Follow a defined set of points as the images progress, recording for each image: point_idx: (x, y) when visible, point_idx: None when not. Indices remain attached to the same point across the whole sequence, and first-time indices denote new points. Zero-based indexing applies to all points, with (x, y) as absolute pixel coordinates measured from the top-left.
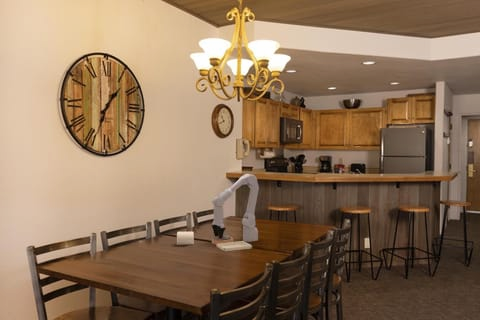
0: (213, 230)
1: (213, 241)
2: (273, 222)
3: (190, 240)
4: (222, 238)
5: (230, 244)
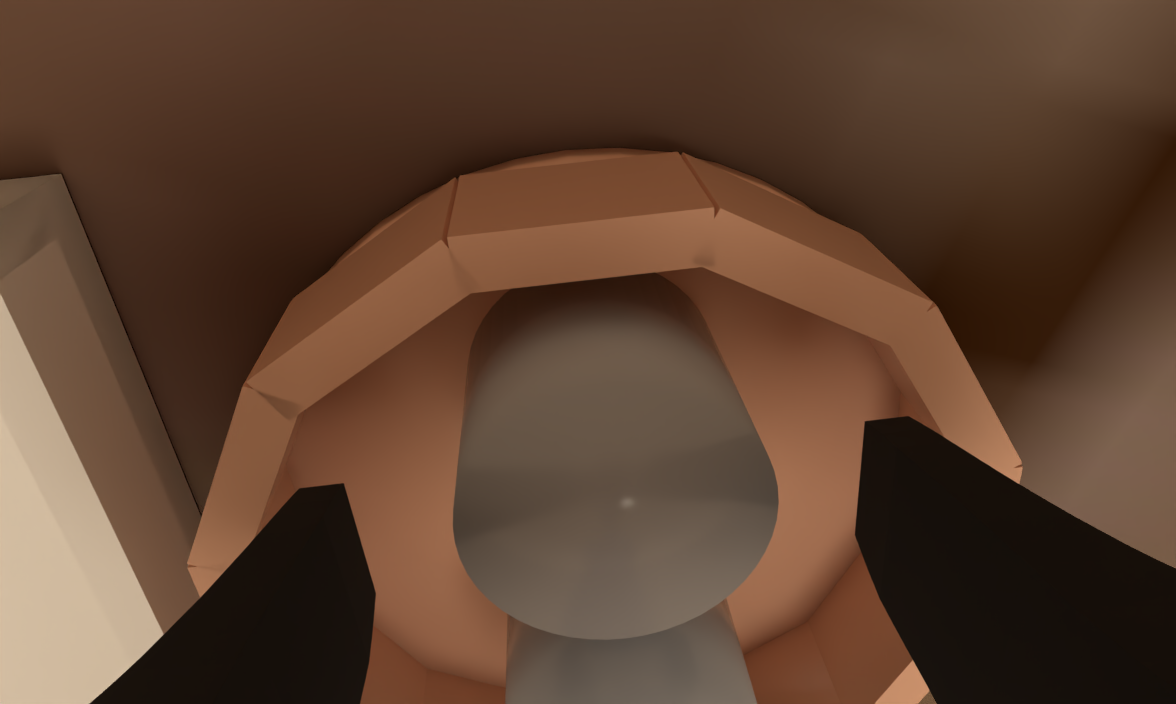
0: (1121, 564)
1: (456, 209)
2: None
3: None
4: None
5: None
